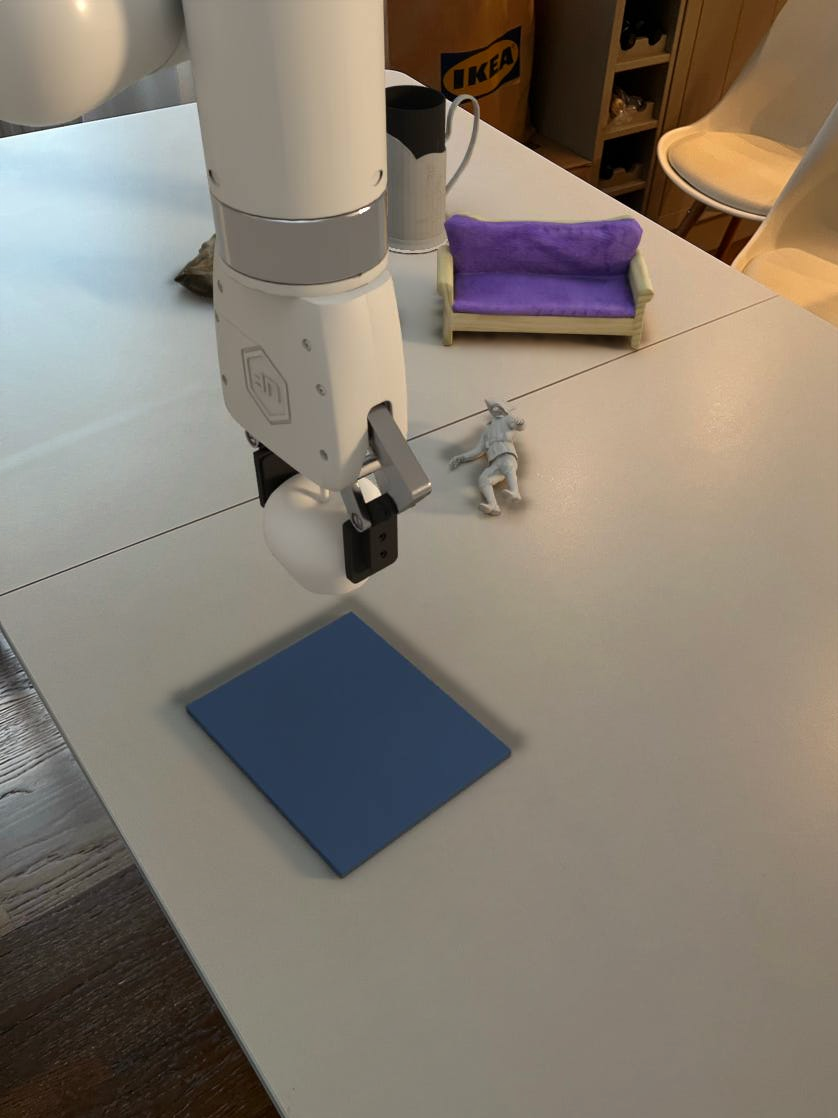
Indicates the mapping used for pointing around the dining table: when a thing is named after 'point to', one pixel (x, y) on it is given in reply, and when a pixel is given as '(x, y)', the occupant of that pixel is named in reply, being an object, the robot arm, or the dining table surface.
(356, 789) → the blue square board
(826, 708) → the dining table surface
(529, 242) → the toy sofa
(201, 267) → the dark brown rough lump
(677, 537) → the dining table surface
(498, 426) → the soldier figure
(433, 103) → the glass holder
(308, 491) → the plain white apple
